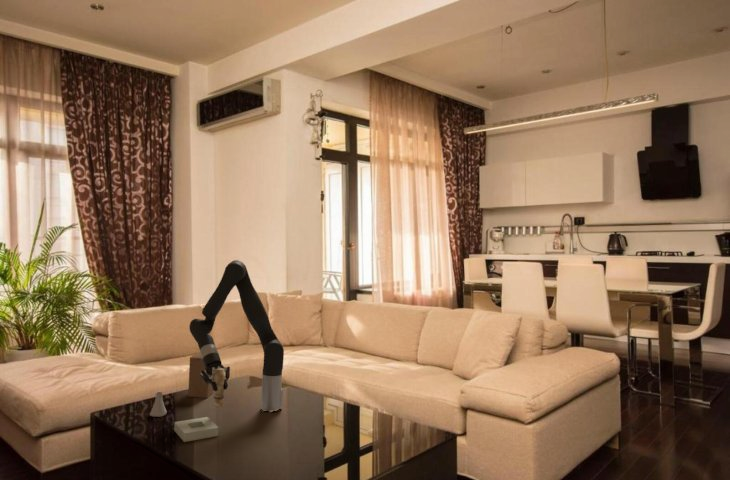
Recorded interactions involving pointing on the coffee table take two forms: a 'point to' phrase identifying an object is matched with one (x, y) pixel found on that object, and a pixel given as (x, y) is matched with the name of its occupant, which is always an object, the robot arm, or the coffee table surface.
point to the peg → (219, 387)
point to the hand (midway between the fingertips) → (221, 389)
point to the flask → (158, 406)
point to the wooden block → (198, 379)
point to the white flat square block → (196, 429)
